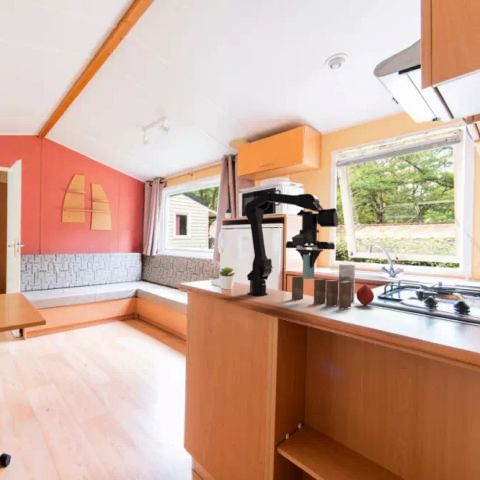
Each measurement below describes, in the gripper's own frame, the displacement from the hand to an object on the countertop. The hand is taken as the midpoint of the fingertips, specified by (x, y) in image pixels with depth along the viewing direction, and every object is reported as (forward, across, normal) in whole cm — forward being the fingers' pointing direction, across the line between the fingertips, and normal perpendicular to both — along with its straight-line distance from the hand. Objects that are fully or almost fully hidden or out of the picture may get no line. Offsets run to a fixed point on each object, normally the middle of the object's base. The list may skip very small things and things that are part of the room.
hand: (308, 267), depth 115 cm
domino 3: (+13, +5, 0) cm, 14 cm away
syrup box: (+13, +8, +15) cm, 21 cm away
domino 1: (+13, -5, 0) cm, 14 cm away
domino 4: (+13, +10, 0) cm, 16 cm away
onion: (+13, +18, +9) cm, 24 cm away
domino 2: (+4, 0, 0) cm, 4 cm away
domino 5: (+13, +15, 0) cm, 20 cm away
